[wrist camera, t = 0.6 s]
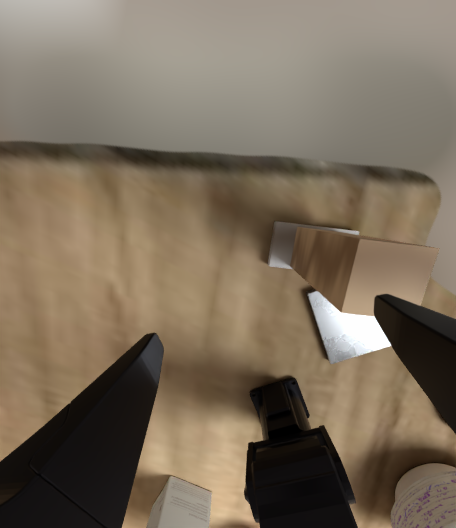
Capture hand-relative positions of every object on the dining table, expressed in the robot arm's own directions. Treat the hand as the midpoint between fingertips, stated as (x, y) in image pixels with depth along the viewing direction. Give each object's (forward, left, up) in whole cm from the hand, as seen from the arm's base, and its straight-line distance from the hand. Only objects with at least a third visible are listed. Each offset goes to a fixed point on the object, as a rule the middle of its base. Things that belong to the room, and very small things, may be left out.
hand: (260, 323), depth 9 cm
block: (-2, -7, -17) cm, 19 cm away
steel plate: (-12, -10, -17) cm, 23 cm away
